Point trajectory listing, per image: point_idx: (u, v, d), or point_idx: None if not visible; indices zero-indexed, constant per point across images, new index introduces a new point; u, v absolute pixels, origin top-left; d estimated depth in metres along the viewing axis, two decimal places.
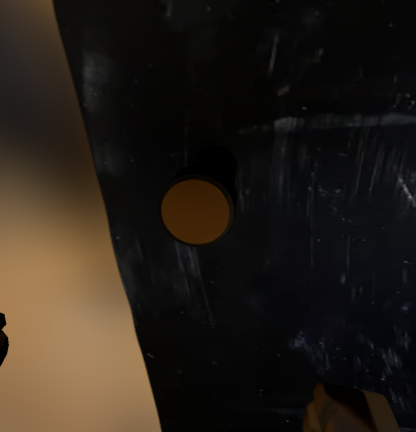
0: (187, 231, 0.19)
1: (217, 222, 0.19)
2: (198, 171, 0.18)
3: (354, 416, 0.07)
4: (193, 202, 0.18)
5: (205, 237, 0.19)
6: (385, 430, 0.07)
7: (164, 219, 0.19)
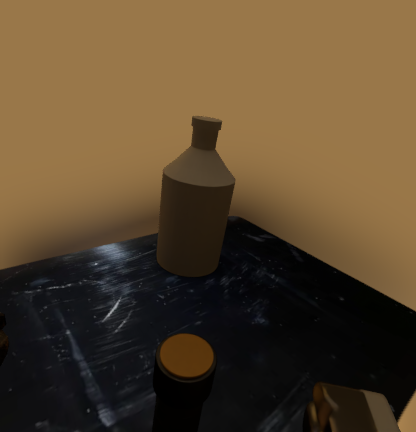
0: (203, 352, 0.24)
1: (183, 339, 0.25)
2: (157, 370, 0.23)
3: (354, 416, 0.07)
4: (179, 357, 0.24)
5: (199, 341, 0.25)
6: (385, 430, 0.07)
7: (206, 370, 0.23)
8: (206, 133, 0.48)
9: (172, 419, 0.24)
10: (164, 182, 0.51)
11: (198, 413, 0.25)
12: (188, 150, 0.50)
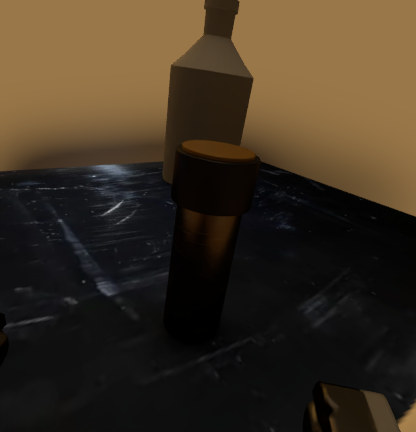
0: (241, 150, 0.18)
1: (212, 142, 0.19)
2: (179, 161, 0.16)
3: (354, 416, 0.07)
4: (209, 148, 0.17)
5: (233, 146, 0.19)
6: (385, 430, 0.07)
7: (248, 158, 0.16)
8: (222, 13, 0.42)
9: (198, 240, 0.17)
10: (172, 76, 0.44)
11: (233, 241, 0.18)
12: (200, 39, 0.44)
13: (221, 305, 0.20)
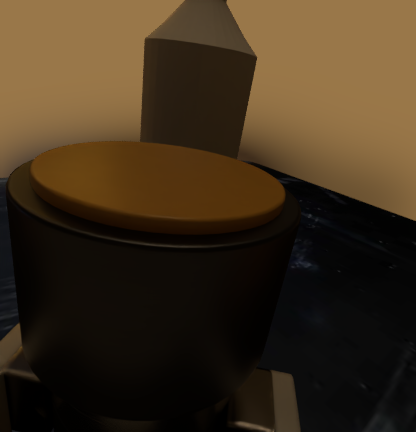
0: (237, 173, 0.06)
1: (157, 148, 0.07)
2: None
3: (254, 394, 0.07)
4: (128, 170, 0.05)
5: (216, 157, 0.07)
6: (281, 407, 0.07)
7: (262, 211, 0.04)
8: None
9: None
10: (146, 53, 0.32)
11: None
12: (184, 2, 0.32)
13: None
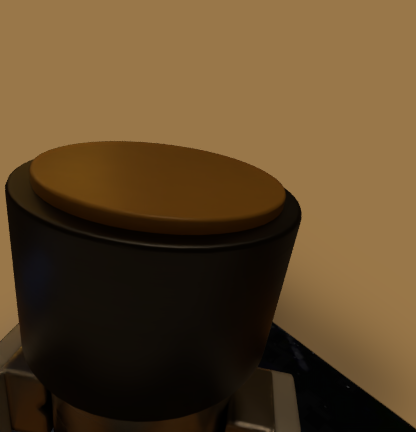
0: (237, 173, 0.06)
1: (157, 148, 0.07)
2: (9, 220, 0.04)
3: (254, 394, 0.07)
4: (128, 170, 0.05)
5: (216, 157, 0.07)
6: (281, 407, 0.07)
7: (262, 211, 0.04)
8: None
9: None
10: None
11: None
12: None
13: None
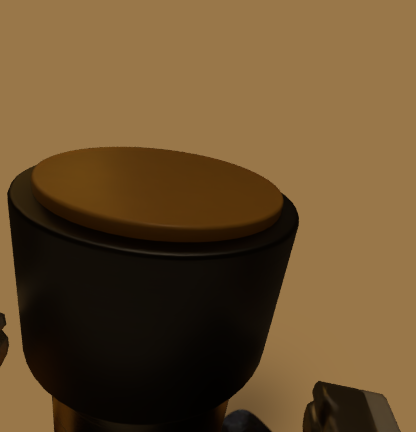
0: (235, 179, 0.06)
1: (156, 154, 0.07)
2: (10, 227, 0.05)
3: (354, 416, 0.07)
4: (128, 177, 0.05)
5: (215, 163, 0.07)
6: (385, 430, 0.07)
7: (260, 218, 0.04)
8: None
9: None
10: None
11: None
12: None
13: None
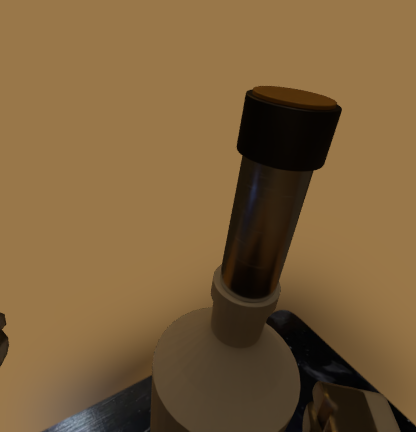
0: (318, 97, 0.16)
1: (284, 89, 0.17)
2: (250, 108, 0.15)
3: (354, 416, 0.07)
4: (284, 94, 0.15)
5: (308, 92, 0.17)
6: (385, 430, 0.07)
7: (329, 105, 0.14)
8: (244, 323, 0.21)
9: (265, 197, 0.16)
10: (153, 390, 0.25)
11: (301, 199, 0.17)
12: (203, 335, 0.23)
13: (282, 266, 0.19)
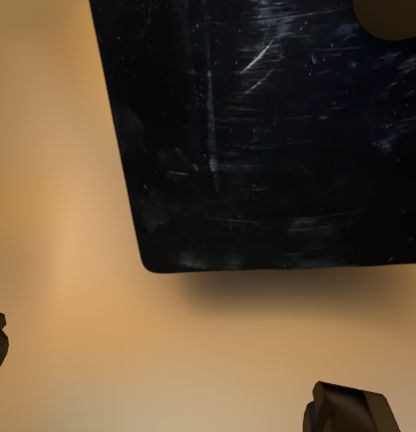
0: None
1: None
2: None
3: (354, 416, 0.07)
4: None
5: None
6: (385, 430, 0.07)
7: None
8: None
9: None
10: None
11: None
12: None
13: None
